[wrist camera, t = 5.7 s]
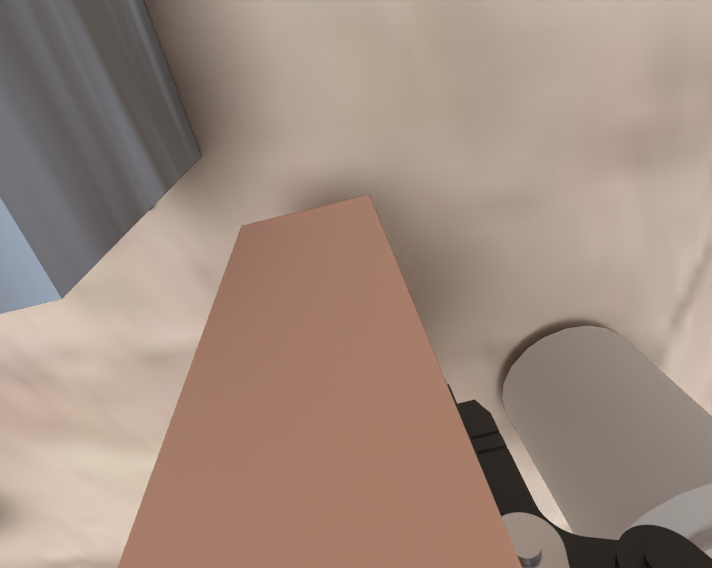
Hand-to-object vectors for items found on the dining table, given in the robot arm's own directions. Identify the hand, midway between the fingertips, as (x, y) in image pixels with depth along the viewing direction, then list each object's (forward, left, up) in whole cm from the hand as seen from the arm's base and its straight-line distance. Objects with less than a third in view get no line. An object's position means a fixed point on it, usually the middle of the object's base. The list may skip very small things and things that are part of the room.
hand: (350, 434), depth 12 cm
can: (-11, +10, -11) cm, 19 cm away
